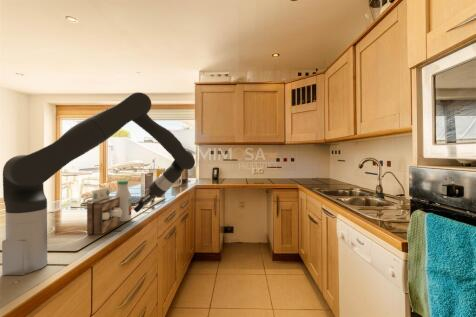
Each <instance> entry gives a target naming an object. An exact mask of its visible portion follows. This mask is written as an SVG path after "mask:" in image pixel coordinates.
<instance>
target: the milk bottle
mask: <svg viewBox="0 0 476 317" xmlns="http://www.w3.org/2000/svg"><path fill="white" fill-rule="evenodd" d="M128 185H129V181H128V180H118V181H117V186H118V188H117V190H116V192H115V195H114V197H120V208H121V210H122V216H121V217H120V223H124V222H128V221H131V219H132V194H131V193H130V190H129V187H128Z"/></svg>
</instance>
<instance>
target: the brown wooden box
mask: <svg viewBox="0 0 476 317" xmlns="http://www.w3.org/2000/svg"><path fill="white" fill-rule="evenodd" d="M109 208H112V210H114V208H120V197H115V196H113V197H112V196H109V198H106V199H103V200H100V201H97V202H93V203H92V201H91V202H90V201H89V202H87V203H86V231H87V232H86V234H87V235H93V234H94V235H103V234H104V233H106V232H108V231H110V230H111V229H113V228H115V227H117V226H118V225H120V223H121V222H120V217H109V219H108V220H102V212H107V213H108V209H109Z"/></svg>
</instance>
